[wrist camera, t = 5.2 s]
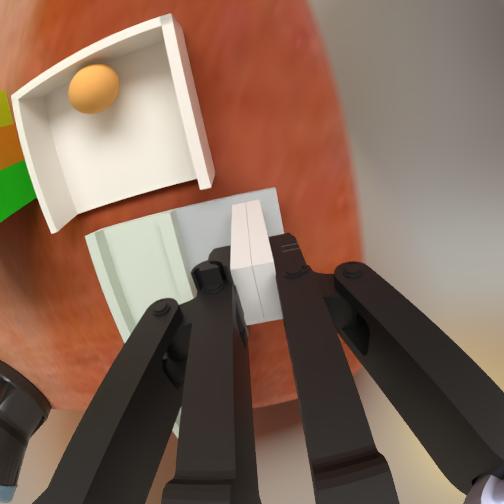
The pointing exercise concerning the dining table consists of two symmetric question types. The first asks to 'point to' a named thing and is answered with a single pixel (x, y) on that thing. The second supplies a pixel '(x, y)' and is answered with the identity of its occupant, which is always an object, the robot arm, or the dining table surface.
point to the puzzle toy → (12, 166)
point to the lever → (166, 254)
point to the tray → (115, 125)
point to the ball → (94, 88)
